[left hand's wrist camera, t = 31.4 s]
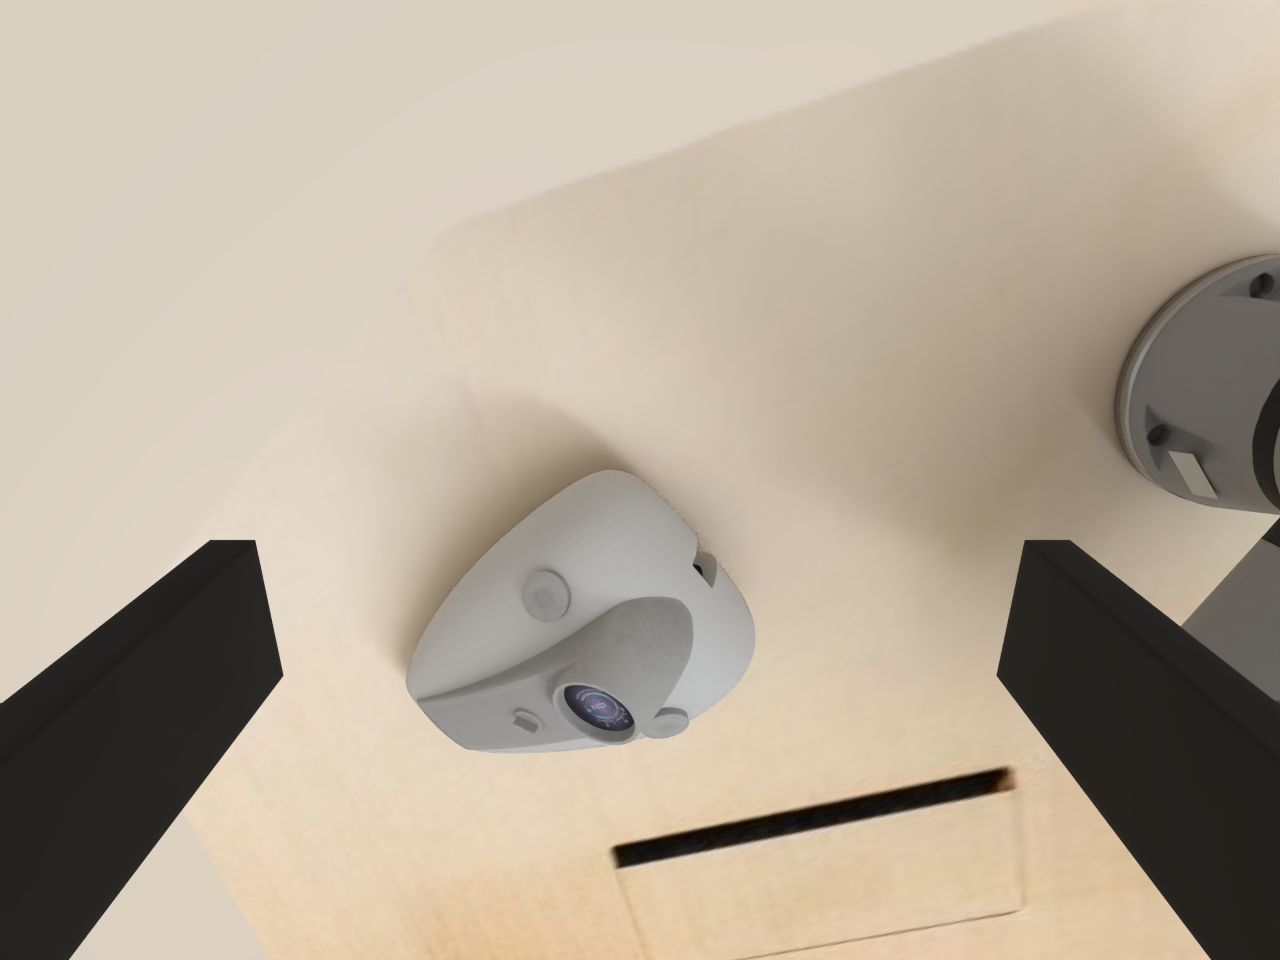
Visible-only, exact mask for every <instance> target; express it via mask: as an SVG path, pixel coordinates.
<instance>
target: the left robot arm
mask: <svg viewBox="0 0 1280 960" xmlns="http://www.w3.org/2000/svg"><path fill="white" fill-rule="evenodd" d="M1115 415H1116V425H1117V431H1118V435H1119V439H1120V442H1121V444H1122V447H1123V449H1124V451H1125V453H1126V455H1127V457H1128V458H1129V460H1130V461H1131V463H1132V464H1133V465H1134V467H1135V468H1136V469H1137V470H1138V471H1139V472H1140V473H1141V474H1142V475H1143V476H1145V477H1146V478H1147V479H1148V480H1150V481H1151V482H1153V483H1154V484H1156V485H1157V486H1159V487H1161V488H1163V489H1165V490H1167V491H1168V492H1170V493H1172V494H1174V495H1177V496H1179V497H1181V498H1184V499H1187V500H1190V501H1193V502H1196V503H1199V504H1203V505H1206V506H1211V507H1217V508H1226V509H1235V510H1243V511H1252V512H1260V513H1269V514H1277V515H1280V254H1275V255H1263V256H1257V257H1252V258H1248V259H1244V260H1240V261H1237V262H1234V263H1231V264H1228V265H1226V266H1223V267H1221V268H1219V269H1217V270H1214V271H1212V272H1210V273H1209V274H1207V275H1205V276H1203V277H1201V278H1200V279H1198V280H1196V281H1195V282H1193V283H1192V284H1190V285H1189V286H1187V287H1186V288H1185V289H1183V290H1182V291H1181V292H1179V293H1178V294H1177V295H1176V296H1175V297H1173V298H1172V299H1171V300H1170V301H1169V302H1168V303H1167V304H1166V305H1165V306H1164V307H1163V308H1162V309H1161V310H1160V311H1159V312H1158V313H1157V314H1156V315H1155V316H1154V317H1153V319H1152V320H1151V321H1150V322H1149V324H1148V325H1147V326H1146V327H1145V329H1144V330H1143V332H1142V333H1141V335H1140V336H1139V337H1138V339H1137V341H1136V343H1135V344H1134V346H1133V348H1132V350H1131V352H1130V354H1129V356H1128V358H1127V360H1126V362H1125V365H1124V368H1123V370H1122V373H1121V377H1120V380H1119V384H1118V389H1117V395H1116V405H1115ZM1271 543H1272V544H1271ZM1273 544H1274V545H1273ZM1275 545H1276V546H1275ZM1277 546H1278V547H1277ZM1279 547H1280V518H1279V519H1278V520H1277V521H1276V522H1275V523H1274V524H1273V526H1272V527H1271V528H1270V529H1269V530H1268V531H1267V532H1266V533H1265V535H1264V536H1262V537H1261V539H1260V540H1259V541H1258V542H1257V543H1256V544H1255V546H1254V547H1253V548H1252V549H1251V550H1250V551H1249V552H1248V553H1247V554H1246V555H1245V556H1244V558H1243V559H1242V560H1241V561H1240V562H1239V563H1238V564H1237V565H1236V566H1235V567H1234V569H1233V570H1232V571H1231V572H1230V573H1229V574H1228V575H1227V576H1226V577H1225V578H1224V580H1223V581H1222V582H1221V583H1220V584H1219V585H1218V586H1217V587H1216V588H1215V589H1214V591H1213V592H1212V593H1211V594H1210V595H1209V596H1208V597H1207V598H1206V599H1205V600H1204V602H1203V603H1202V604H1201V605H1200V606H1199V607H1198V608H1197V609H1196V610H1195V611H1194V612H1193V614H1192V615H1191V616H1190V617H1189V618H1188V619H1187V620H1186V621H1185V622H1184V623H1183V625H1182V626H1181V627H1180V626H1179V625H1178V624H1176V623H1175V622H1174V621H1172V620H1171V619H1170V618H1169V617H1167V616H1166V615H1165V614H1164V613H1162V612H1161V611H1160V610H1158V609H1157V608H1156V607H1155V606H1153V605H1152V604H1151V603H1149V602H1148V601H1147V600H1146V599H1144V598H1143V597H1142V596H1141V595H1139V594H1138V593H1137V592H1135V591H1134V590H1133V589H1132V588H1130V587H1129V586H1128V585H1126V584H1125V583H1124V582H1123V581H1121V580H1120V579H1119V578H1118V577H1116V576H1115V575H1114V574H1112V573H1111V572H1110V571H1109V570H1107V569H1106V568H1105V567H1103V566H1102V565H1101V564H1100V563H1098V562H1097V561H1096V560H1095V559H1093V558H1092V557H1091V556H1089V555H1088V554H1087V553H1086V552H1084V551H1083V550H1082V549H1081V548H1079V547H1078V546H1077V545H1075V544H1074V543H1073V542H1072V541H1070V540H1025V542H1024V546H1023V551H1022V556H1021V561H1020V566H1019V570H1018V575H1017V580H1016V585H1015V590H1014V594H1013V599H1012V604H1011V609H1010V614H1009V618H1008V623H1007V628H1006V633H1005V638H1004V642H1003V647H1002V652H1001V657H1000V662H999V666H998V671H997V677H998V678H999V680H1000V681H1001V682H1002V684H1003V685H1004V686H1005V687H1006V689H1007V690H1008V691H1009V693H1010V694H1011V695H1012V697H1013V698H1014V699H1015V701H1016V702H1017V703H1018V705H1019V706H1020V707H1021V709H1022V710H1023V711H1024V713H1025V714H1026V715H1027V717H1028V718H1029V719H1030V721H1031V722H1032V723H1033V725H1034V726H1035V727H1036V729H1037V730H1038V731H1039V732H1040V734H1041V735H1042V736H1043V738H1044V739H1045V740H1046V742H1047V743H1048V744H1049V746H1050V747H1051V748H1052V750H1053V751H1054V752H1055V754H1056V755H1057V756H1058V758H1059V759H1060V760H1061V762H1062V763H1063V764H1064V766H1065V767H1066V768H1067V770H1068V771H1069V772H1070V774H1071V775H1072V776H1073V778H1074V779H1075V780H1076V781H1077V783H1078V784H1079V785H1080V787H1081V788H1082V789H1083V791H1084V792H1085V793H1086V795H1087V796H1088V797H1089V799H1090V800H1091V801H1092V803H1093V804H1094V805H1095V807H1096V808H1097V809H1098V811H1099V812H1100V813H1101V815H1102V816H1103V817H1104V819H1105V820H1106V821H1107V823H1108V824H1109V825H1110V826H1111V828H1112V829H1113V830H1114V832H1115V833H1116V834H1117V836H1118V837H1119V838H1120V840H1121V841H1122V842H1123V844H1124V845H1125V846H1126V848H1127V849H1128V850H1129V852H1130V853H1131V854H1132V856H1133V857H1134V858H1135V860H1136V861H1137V862H1138V864H1139V865H1140V866H1141V868H1142V869H1143V870H1144V871H1145V873H1146V874H1147V875H1148V877H1149V878H1150V879H1151V881H1152V882H1153V883H1154V885H1155V886H1156V887H1157V889H1158V890H1159V891H1160V893H1161V894H1162V895H1163V897H1164V898H1165V899H1166V901H1167V902H1168V903H1169V905H1170V906H1171V907H1172V909H1173V910H1174V911H1175V913H1176V914H1177V915H1178V916H1179V918H1180V919H1181V920H1182V922H1183V923H1184V924H1185V926H1186V927H1187V928H1188V930H1189V931H1190V932H1191V934H1192V935H1193V936H1194V938H1195V939H1196V940H1197V942H1198V943H1199V944H1200V946H1201V947H1202V948H1203V950H1204V951H1205V952H1206V954H1207V955H1208V956H1209V958H1210V959H1211V960H1280V548H1279ZM282 677H283V671H282V666H281V662H280V657H279V652H278V647H277V642H276V638H275V633H274V628H273V623H272V618H271V614H270V609H269V604H268V599H267V594H266V590H265V585H264V580H263V575H262V570H261V566H260V561H259V556H258V551H257V546H256V542H255V540H210V541H208V542H207V543H206V544H205V545H203V546H202V547H201V548H199V549H198V550H197V551H196V552H194V553H193V554H192V555H191V556H189V557H188V558H187V559H185V560H184V561H183V562H182V563H180V564H179V565H178V566H176V567H175V568H174V569H173V570H171V571H170V572H169V573H168V574H166V575H165V576H164V577H162V578H161V579H160V580H159V581H157V582H156V583H155V584H154V585H152V586H151V587H150V588H148V589H147V590H146V591H145V592H143V593H142V594H141V595H139V596H138V597H137V598H136V599H134V600H133V601H132V602H131V603H129V604H128V605H127V606H125V607H124V608H123V609H122V610H120V611H119V612H118V613H116V614H115V615H114V616H113V617H111V618H110V619H109V620H108V621H106V622H105V623H104V624H102V625H101V626H100V627H99V628H97V629H96V630H95V631H93V632H92V633H91V634H90V635H88V636H87V637H86V638H85V639H83V640H82V641H81V642H79V643H78V644H77V645H76V646H74V647H73V648H72V649H70V650H69V651H68V652H67V653H65V654H64V655H63V656H62V657H60V658H59V659H58V660H56V661H55V662H54V663H53V664H51V665H50V666H49V667H47V668H46V669H45V670H44V671H42V672H41V673H40V674H39V675H37V676H36V677H35V678H33V679H32V680H31V681H30V682H28V683H27V684H26V685H24V686H23V687H22V688H21V689H19V690H18V691H17V692H16V693H14V694H13V695H12V696H11V697H9V698H8V699H7V700H5V701H4V702H3V703H0V960H69V959H70V957H71V956H72V955H73V954H74V952H75V951H76V950H77V948H78V947H79V946H80V944H81V943H82V942H83V940H84V939H85V938H86V936H87V935H88V934H89V932H90V931H91V930H92V928H93V927H94V926H95V924H96V923H97V922H98V920H99V919H100V918H101V916H102V915H103V914H104V912H105V911H106V910H107V909H108V907H109V906H110V904H111V903H112V902H113V901H114V899H115V898H116V897H117V895H118V894H119V893H120V891H121V890H122V889H123V887H124V886H125V885H126V883H127V882H128V881H129V879H130V878H131V877H132V875H133V874H134V873H135V871H136V870H137V869H138V868H139V866H140V865H141V864H142V862H143V861H144V860H145V858H146V857H147V856H148V854H149V853H150V852H151V850H152V849H153V848H154V846H155V845H156V844H157V842H158V841H159V840H160V838H161V837H162V836H163V834H164V833H165V832H166V830H167V829H168V828H169V826H170V825H171V824H172V823H173V821H174V820H175V818H176V817H177V816H178V814H179V813H180V812H181V811H182V809H183V808H184V807H185V805H186V804H187V803H188V801H189V800H190V799H191V797H192V796H193V795H194V793H195V792H196V791H197V789H198V788H199V787H200V785H201V784H202V783H203V781H204V780H205V779H206V777H207V776H208V775H209V774H210V772H211V771H212V770H213V768H214V767H215V766H216V764H217V763H218V762H219V760H220V759H221V758H222V756H223V755H224V754H225V752H226V751H227V750H228V748H229V747H230V746H231V744H232V743H233V742H234V740H235V739H236V738H237V736H238V735H239V734H240V732H241V731H242V730H243V729H244V727H245V726H246V725H247V723H248V722H249V721H250V719H251V718H252V717H253V715H254V714H255V713H256V711H257V710H258V709H259V707H260V706H261V705H262V703H263V702H264V701H265V699H266V698H267V697H268V695H269V694H270V693H271V691H272V690H273V689H274V687H275V686H276V685H277V684H278V682H279V681H280V680H281V678H282Z"/></svg>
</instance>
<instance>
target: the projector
mask: <svg viewBox="0 0 1280 960" xmlns="http://www.w3.org/2000/svg"><path fill="white" fill-rule="evenodd" d="M697 546H698V541H697V536H696V534H695V533H694V531H693V530H692V529H691V528H690V527H689V526H688V524H687V523H686V522H685V521H684V520H683V519H682V517H681V516H680V515H679V514H678V513H677V512H676V511H675V510H674V508H673V507H672V506H671V505H670V504H669V503H668V502H667V501H666V500H665V499H664V498H663V497H662V496H661V495H660V494H659V493H657V492H656V491H655V490H654V489H653V488H652V487H651V486H649V485H648V484H647V483H645V482H644V481H643V480H641V479H640V478H638V477H636V476H634V475H632V474H629V473H626V472H623V471H619V470H602V471H598V472H595V473H592V474H590V475H588V476H586V477H584V478H582V479H580V480H578V481H576V482H575V483H573V484H571V485H570V486H568V487H566V488H565V489H563V490H562V491H560V492H559V493H557V494H556V495H555V496H553V497H552V498H550V499H549V500H548V501H546V502H545V503H544V504H542V505H541V506H540V507H538V508H537V509H536V510H534V511H533V512H532V513H531V514H529V515H528V516H527V517H526V518H524V519H523V520H522V521H521V522H520V523H518V524H517V525H516V526H515V527H514V528H513V529H511V530H510V531H509V532H508V533H507V534H506V535H505V536H503V537H502V538H501V539H500V540H499V541H498V542H497V543H496V544H495V545H493V546H492V547H491V548H490V549H489V550H488V551H487V552H486V553H485V554H484V555H483V556H482V557H481V558H480V559H479V560H478V561H477V562H476V563H475V564H474V565H473V567H472V568H471V569H470V570H469V571H468V572H467V573H466V574H465V575H464V576H463V577H462V579H461V580H460V581H459V582H458V584H457V585H456V586H455V587H454V589H453V590H452V591H451V592H450V594H449V595H448V596H447V597H446V599H445V600H444V602H443V603H442V604H441V606H440V607H439V609H438V610H437V612H436V613H435V615H434V616H433V618H432V619H431V621H430V623H429V624H428V626H427V628H426V629H425V631H424V633H423V635H422V637H421V638H420V640H419V642H418V644H417V647H416V649H415V651H414V653H413V656H412V658H411V661H410V665H409V668H408V672H407V677H406V686H407V690H408V692H409V694H410V695H411V697H412V699H413V700H414V701H415V702H416V704H417V705H418V706H419V707H420V708H421V709H422V710H423V712H424V713H425V714H426V715H427V717H428V718H429V719H430V720H431V721H432V722H433V723H434V724H435V725H436V726H437V727H438V728H439V729H440V730H441V731H442V732H443V733H444V734H445V735H447V736H448V737H449V738H450V739H452V740H453V741H454V742H456V743H457V744H459V745H460V746H462V747H463V748H465V749H468V750H476V751H480V752H491V753H540V752H556V751H570V750H581V749H588V748H596V747H604V746H609V745H621V744H626V743H629V742H631V741H633V740H637V739H641V738H645V737H649V738H656V739H660V738H668V737H671V736H674V735H677V734H679V733H681V732H682V731H684V730H685V729H686V728H687V727H688V725H689V720H691V719H693V718H695V717H697V716H698V715H700V714H702V713H704V712H705V711H706V710H708V709H709V708H711V707H712V706H714V705H715V704H716V703H718V702H719V701H720V700H721V699H722V698H723V697H724V696H726V695H727V694H728V693H729V692H730V691H731V690H732V689H733V688H734V686H735V685H736V684H737V683H738V682H739V681H740V679H741V678H742V676H743V675H744V673H745V671H746V670H747V668H748V666H749V664H750V661H751V659H752V656H753V653H754V648H755V628H754V623H753V619H752V616H751V613H750V610H749V608H748V605H747V603H746V601H745V599H744V598H743V596H742V594H741V592H740V591H739V589H738V588H737V586H736V585H735V583H734V582H733V580H732V579H731V578H730V576H729V575H728V574H727V572H726V571H725V570H724V568H723V567H722V566H721V565H720V563H719V562H718V561H717V560H716V558H715V557H714V556H713V555H711V554H709V553H696V552H697Z"/></svg>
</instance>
